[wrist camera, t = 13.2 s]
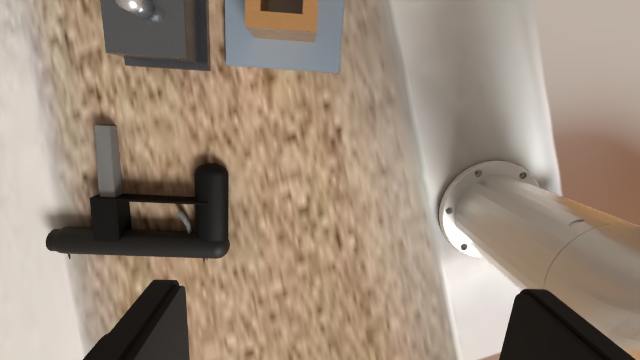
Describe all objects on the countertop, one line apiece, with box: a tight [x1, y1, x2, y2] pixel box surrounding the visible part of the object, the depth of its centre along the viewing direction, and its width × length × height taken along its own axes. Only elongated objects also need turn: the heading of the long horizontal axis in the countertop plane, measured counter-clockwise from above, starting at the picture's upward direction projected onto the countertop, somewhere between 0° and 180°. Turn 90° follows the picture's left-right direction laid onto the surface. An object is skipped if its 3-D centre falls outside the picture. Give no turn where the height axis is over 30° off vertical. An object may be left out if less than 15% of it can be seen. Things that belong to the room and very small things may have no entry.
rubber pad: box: [225, 0, 344, 73], centre depth 32 cm, size 12×12×1 cm
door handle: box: [46, 125, 230, 261], centre depth 36 cm, size 3×20×16 cm
